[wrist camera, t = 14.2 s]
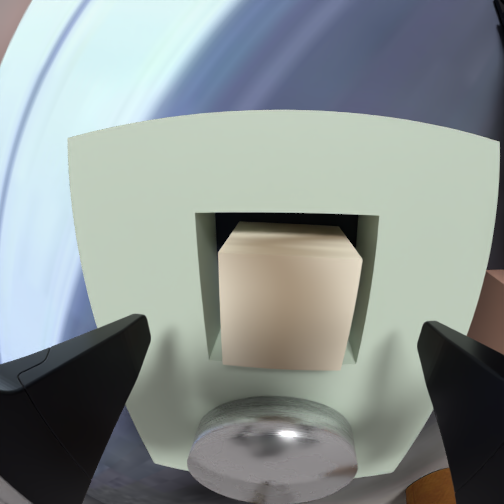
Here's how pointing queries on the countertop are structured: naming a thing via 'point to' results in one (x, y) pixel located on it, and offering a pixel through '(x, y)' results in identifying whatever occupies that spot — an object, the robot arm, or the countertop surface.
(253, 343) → the birch cube
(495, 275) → the terracotta cube
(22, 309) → the countertop surface
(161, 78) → the countertop surface
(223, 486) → the metal puck
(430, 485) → the disposable coffee cup
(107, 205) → the pocket deck
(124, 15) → the countertop surface
